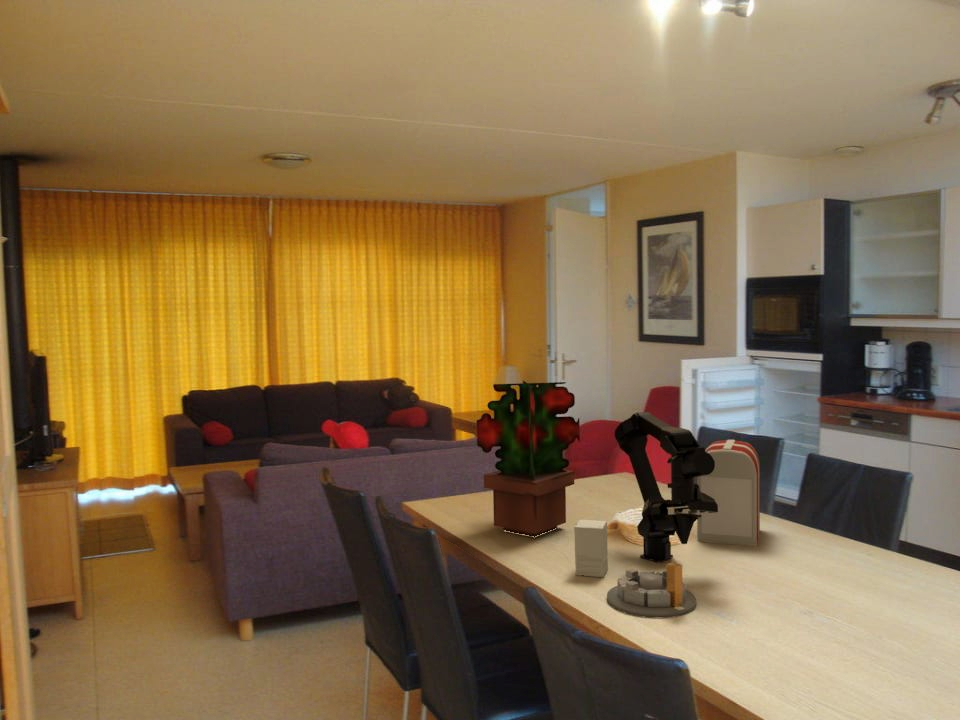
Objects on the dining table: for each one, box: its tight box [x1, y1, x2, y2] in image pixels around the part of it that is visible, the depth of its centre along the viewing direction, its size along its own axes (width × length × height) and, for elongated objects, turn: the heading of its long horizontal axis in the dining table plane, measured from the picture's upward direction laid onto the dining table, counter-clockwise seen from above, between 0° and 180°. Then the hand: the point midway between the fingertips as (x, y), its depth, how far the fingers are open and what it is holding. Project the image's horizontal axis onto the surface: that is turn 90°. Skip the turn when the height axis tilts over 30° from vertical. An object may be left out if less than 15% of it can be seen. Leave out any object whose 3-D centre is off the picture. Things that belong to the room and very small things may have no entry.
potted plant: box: [476, 380, 581, 537], centre depth 242 cm, size 22×22×45 cm
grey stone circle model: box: [606, 574, 697, 618], centre depth 183 cm, size 20×20×6 cm
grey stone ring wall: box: [617, 561, 686, 607], centre depth 183 cm, size 15×14×9 cm
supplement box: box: [573, 519, 609, 578], centre depth 203 cm, size 7×7×13 cm
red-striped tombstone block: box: [696, 439, 761, 547], centre depth 233 cm, size 16×18×27 cm
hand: (684, 544), depth 195 cm, fingers closed
